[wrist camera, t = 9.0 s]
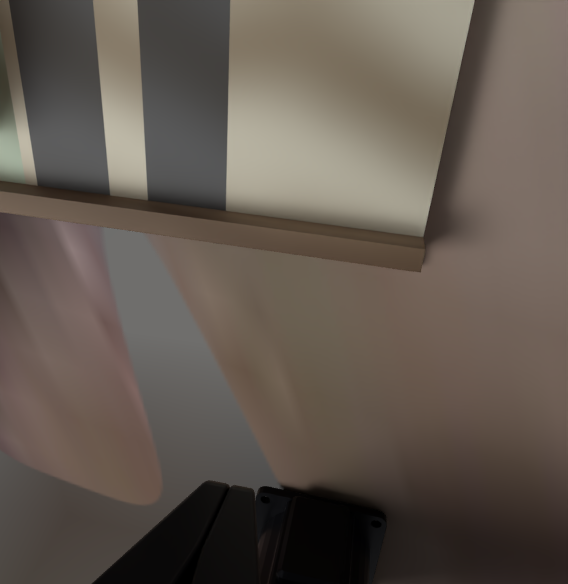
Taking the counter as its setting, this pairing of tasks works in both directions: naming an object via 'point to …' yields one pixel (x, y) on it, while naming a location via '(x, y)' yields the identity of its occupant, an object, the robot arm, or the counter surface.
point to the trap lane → (232, 119)
